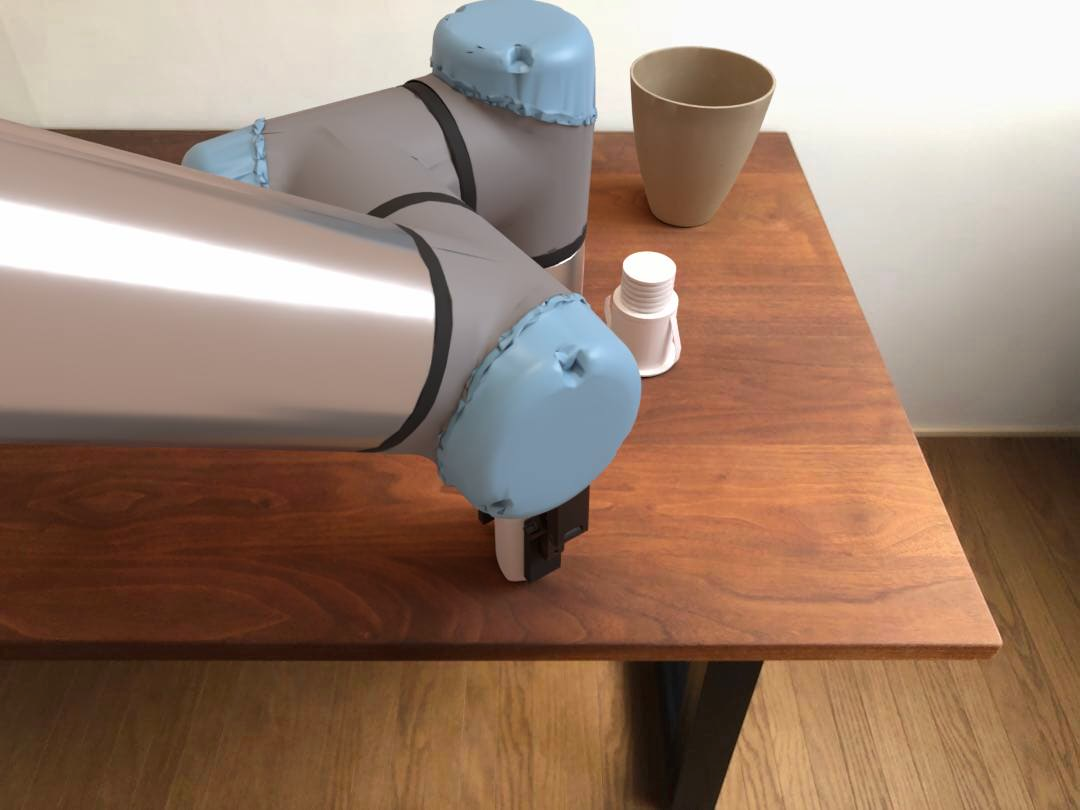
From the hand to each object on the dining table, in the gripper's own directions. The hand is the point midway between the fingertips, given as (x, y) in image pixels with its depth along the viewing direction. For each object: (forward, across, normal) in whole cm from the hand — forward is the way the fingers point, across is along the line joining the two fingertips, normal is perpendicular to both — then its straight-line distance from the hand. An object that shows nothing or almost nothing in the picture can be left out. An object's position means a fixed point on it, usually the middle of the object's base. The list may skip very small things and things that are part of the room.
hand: (518, 542), depth 67 cm
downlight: (+2, +13, -22) cm, 26 cm away
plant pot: (+2, +30, -42) cm, 52 cm away
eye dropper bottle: (+2, 0, 0) cm, 2 cm away
